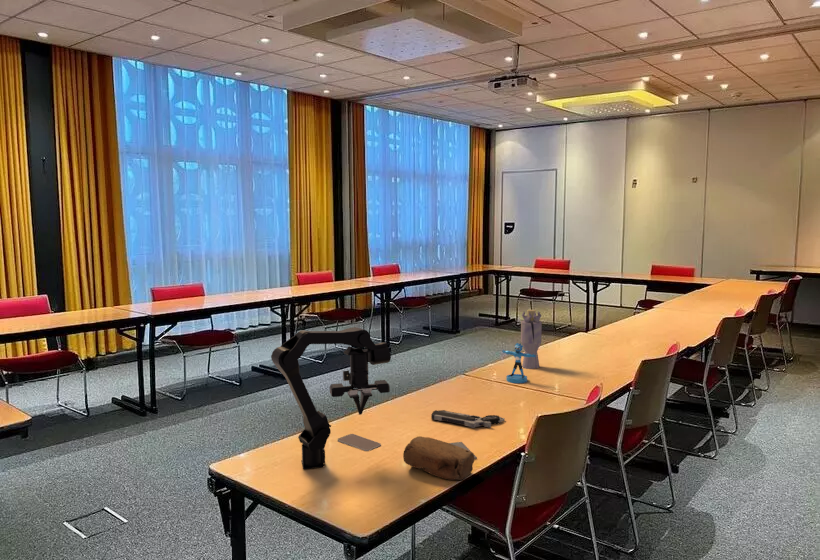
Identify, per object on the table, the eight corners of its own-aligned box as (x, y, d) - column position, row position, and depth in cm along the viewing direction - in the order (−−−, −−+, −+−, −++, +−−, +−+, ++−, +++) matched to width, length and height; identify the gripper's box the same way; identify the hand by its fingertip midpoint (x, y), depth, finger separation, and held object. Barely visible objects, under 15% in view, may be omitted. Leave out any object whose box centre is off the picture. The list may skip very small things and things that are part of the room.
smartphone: (366, 450, 193) (336, 439, 203) (366, 453, 193) (336, 441, 203) (382, 443, 199) (351, 433, 208) (382, 446, 199) (351, 435, 208)
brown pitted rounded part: (421, 432, 187) (477, 449, 175) (420, 455, 188) (476, 473, 176) (401, 443, 178) (458, 462, 166) (400, 467, 179) (457, 487, 168)
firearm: (448, 404, 235) (429, 412, 223) (505, 414, 222) (488, 424, 210) (448, 412, 236) (429, 421, 223) (505, 423, 223) (488, 433, 210)
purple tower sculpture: (529, 363, 312) (529, 307, 309) (545, 366, 304) (545, 309, 301) (516, 366, 305) (517, 309, 302) (532, 370, 297) (533, 311, 294)
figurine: (496, 380, 279) (496, 342, 278) (506, 375, 287) (506, 339, 285) (530, 386, 268) (531, 347, 267) (540, 381, 276) (540, 343, 274)
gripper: (382, 359, 199) (383, 404, 201) (327, 363, 194) (328, 409, 196) (389, 367, 188) (390, 414, 190) (331, 371, 184) (332, 420, 185)
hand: (360, 414), depth 191 cm, fingers closed
